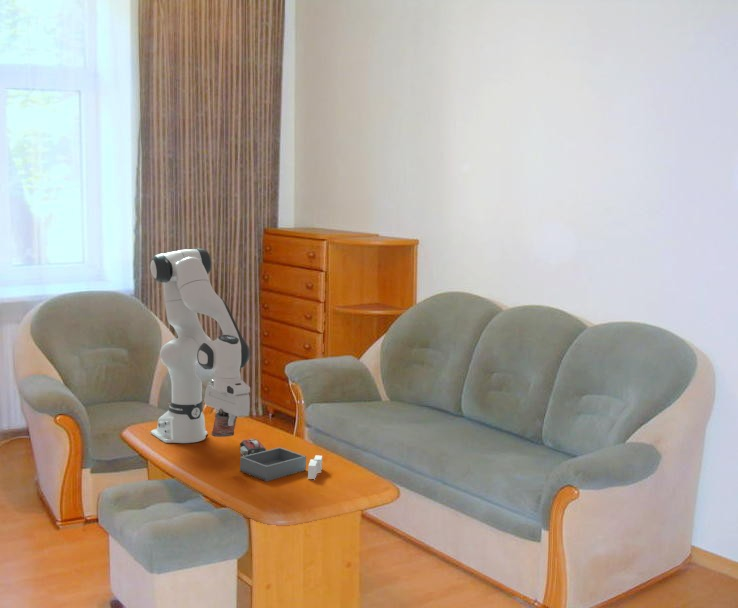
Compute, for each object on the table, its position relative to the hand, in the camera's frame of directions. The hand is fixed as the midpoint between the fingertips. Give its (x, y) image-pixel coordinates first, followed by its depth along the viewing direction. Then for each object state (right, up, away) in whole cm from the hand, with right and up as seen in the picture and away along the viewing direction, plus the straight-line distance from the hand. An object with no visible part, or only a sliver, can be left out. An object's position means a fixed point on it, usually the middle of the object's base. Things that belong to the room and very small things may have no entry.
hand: (225, 424), depth 302 cm
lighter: (-1, -4, +2) cm, 5 cm away
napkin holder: (+31, -18, 0) cm, 35 cm away
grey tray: (+16, -16, +2) cm, 23 cm away
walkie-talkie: (+7, -14, +20) cm, 25 cm away
